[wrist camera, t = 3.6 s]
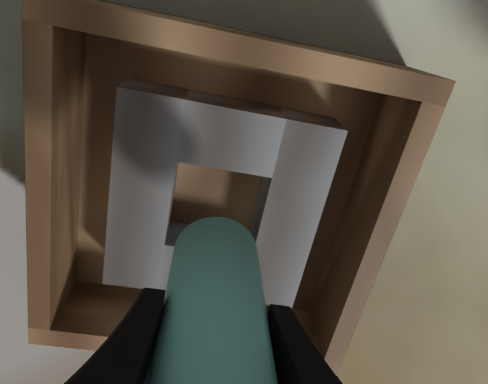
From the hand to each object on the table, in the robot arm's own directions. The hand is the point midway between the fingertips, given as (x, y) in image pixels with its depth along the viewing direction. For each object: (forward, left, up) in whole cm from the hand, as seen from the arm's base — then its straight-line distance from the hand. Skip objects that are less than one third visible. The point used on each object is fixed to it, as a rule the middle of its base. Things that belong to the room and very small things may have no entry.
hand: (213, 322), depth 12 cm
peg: (0, 0, -4) cm, 4 cm away
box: (0, 0, -10) cm, 10 cm away
